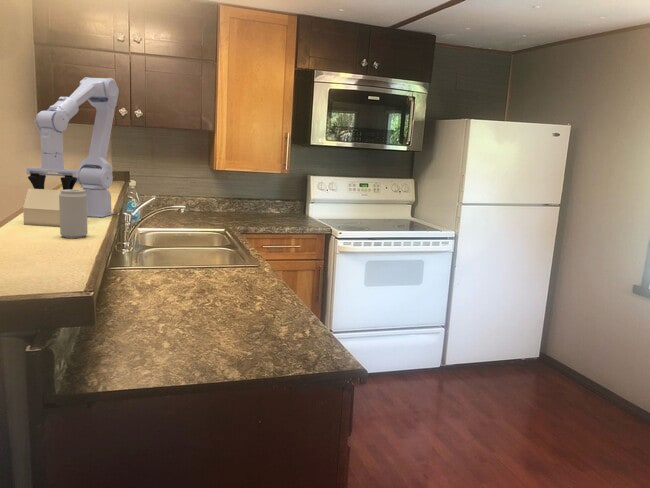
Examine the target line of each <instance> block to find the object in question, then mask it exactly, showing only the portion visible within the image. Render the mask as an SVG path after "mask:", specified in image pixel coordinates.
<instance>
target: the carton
mask: <svg viewBox="0 0 650 488" xmlns="http://www.w3.org/2000/svg"><path fill="white" fill-rule="evenodd" d="M22 212H23V214H22V215H23V225H27V226H41V227H42V226H44V227H57V228H60V211H56V210H39V209H24V208H22Z"/></svg>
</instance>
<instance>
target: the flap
mask: <svg viewBox="0 0 650 488" xmlns="http://www.w3.org/2000/svg"><path fill="white" fill-rule="evenodd" d="M61 190H62V189H60V190H59V189H45V188H44V189H34V188H28V189H27V192H26V196H25V200H24V204H23V206H22V209H39V210H56V211H60V209H59V195H60V193H61Z"/></svg>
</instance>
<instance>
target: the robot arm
mask: <svg viewBox="0 0 650 488" xmlns="http://www.w3.org/2000/svg"><path fill="white" fill-rule="evenodd" d="M119 92H120V88H119V87H118V84H117V81H116V80H115V79H114V78H112V77H107V78H105V77H88V76H86V77H83V78H82V79H81V80H80V81H79V86H78V87H77V88H76V89H75V90H74V91H73V92H72V93H71V94H70V95H69V96H60V97H58V99H57V101H56V102H55V103H53V105H50V106H49V108H48V109H46V110H41V111H39V112H38V113H37V114H36V116H35V119H34V124H35V127H36V128H37V132H38V136H39V138H40V154H41V155H40V158H41V159H40V160H41V161H40V162H41V167H32V166H30V167H26V170H25V172H26V175H29V176H27V178H28V181H29V182H30V183H31V185H32V187H33V189H45V182H46V177H47V176H51V177H52V176H53V177H54V176H55V177H60V181H61V186H62V190H74V187H75V185H76V184H77V183H78V185H79V186H80V188H82V190H84V191H85V194H86V195H87V217H94V218H103V217H108V216H111V215H114V214H115V212H113V211H112V194H111V192H110V190H109V189H110V186H111V185H112V183H113V179H114V175H113V169H114V168H113V167H114V166H112V164H111V163H109V161H107V157H108V156H107V155H108V150H109V146H110V145H109V144H110V140H111V139H110V138H111V133H112V129H113V128H112V127H113V120H114V116H115V110H116V107H117V104H118V98H119ZM86 101H88V103H89V104H90V106H92V107H94V108H95V110H96V112H95V116H94V123H93V128H92V135H91V141H90V145H89V151H88V156H87V157H86V158H85V159H83V160H81V162H80V165H79V168H78V169H77V170H76V169H66V168H64V167H65V165H64V162H65V161H64V133H63V132H64V131H66V130H67V128H68V123H69V122H70V120H71V119H72V118H73V117H74V116H75V115H76V114H78V112H79V107H80V106H81V105H82V104H84V103H85V102H86Z"/></svg>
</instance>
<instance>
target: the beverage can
mask: <svg viewBox="0 0 650 488" xmlns="http://www.w3.org/2000/svg"><path fill="white" fill-rule="evenodd" d="M60 190H61V193H60V195H59V209H60V227H59V231H60V233H59V234H60V235H61V236H62V237H63V238H64V239H80V238H84V237H85V236H86V235H88V233H89V232H88V216H87V195H86V194H85V191H84V190H83V189H72V190H63V189H60Z"/></svg>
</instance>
